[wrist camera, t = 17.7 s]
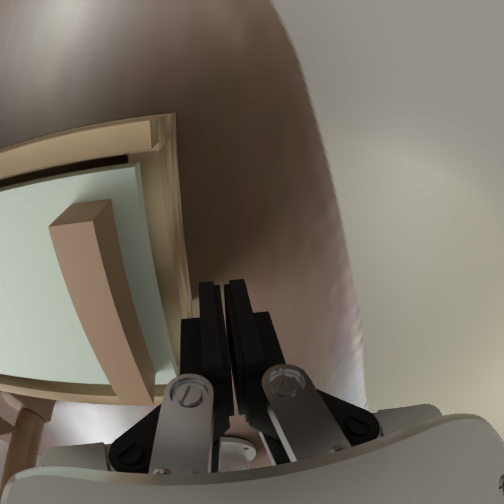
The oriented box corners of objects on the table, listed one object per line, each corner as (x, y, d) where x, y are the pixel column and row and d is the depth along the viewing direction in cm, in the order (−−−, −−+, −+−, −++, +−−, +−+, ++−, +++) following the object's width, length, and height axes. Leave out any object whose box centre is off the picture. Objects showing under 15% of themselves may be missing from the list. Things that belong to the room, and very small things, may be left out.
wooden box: (192, 300, 23) (195, 403, 15) (-14, 307, 20) (-55, 375, 11) (175, 112, 16) (149, 120, 8) (-58, 172, 13) (-129, 217, 5)
